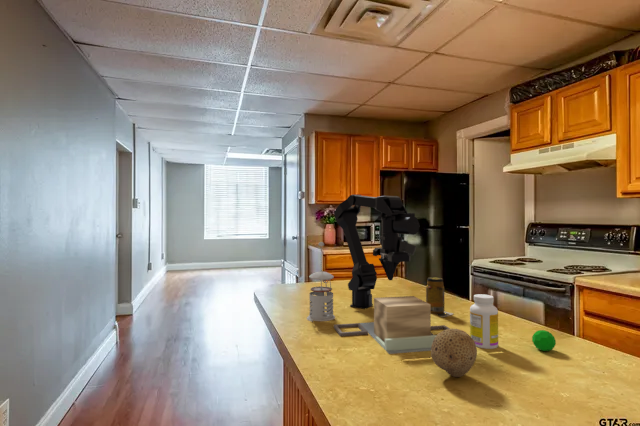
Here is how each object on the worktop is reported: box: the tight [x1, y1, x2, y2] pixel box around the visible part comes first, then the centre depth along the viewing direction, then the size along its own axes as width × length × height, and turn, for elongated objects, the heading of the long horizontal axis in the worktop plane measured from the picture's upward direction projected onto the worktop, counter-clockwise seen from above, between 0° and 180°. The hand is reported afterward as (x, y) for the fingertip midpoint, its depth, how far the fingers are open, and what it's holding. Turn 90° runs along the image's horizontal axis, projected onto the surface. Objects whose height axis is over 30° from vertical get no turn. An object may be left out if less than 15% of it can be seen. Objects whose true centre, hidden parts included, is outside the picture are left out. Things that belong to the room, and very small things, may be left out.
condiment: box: [425, 276, 454, 318], centre depth 125 cm, size 7×8×12 cm
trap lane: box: [333, 321, 451, 355], centre depth 101 cm, size 25×32×3 cm
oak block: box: [373, 295, 432, 343], centre depth 99 cm, size 10×12×10 cm
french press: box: [306, 241, 336, 323], centre depth 120 cm, size 10×12×25 cm
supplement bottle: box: [469, 293, 499, 350], centre depth 94 cm, size 7×7×13 cm
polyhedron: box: [531, 329, 557, 352], centre depth 91 cm, size 5×5×5 cm
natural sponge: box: [430, 328, 478, 378], centre depth 76 cm, size 9×9×10 cm
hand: (390, 280), depth 122 cm, fingers closed
